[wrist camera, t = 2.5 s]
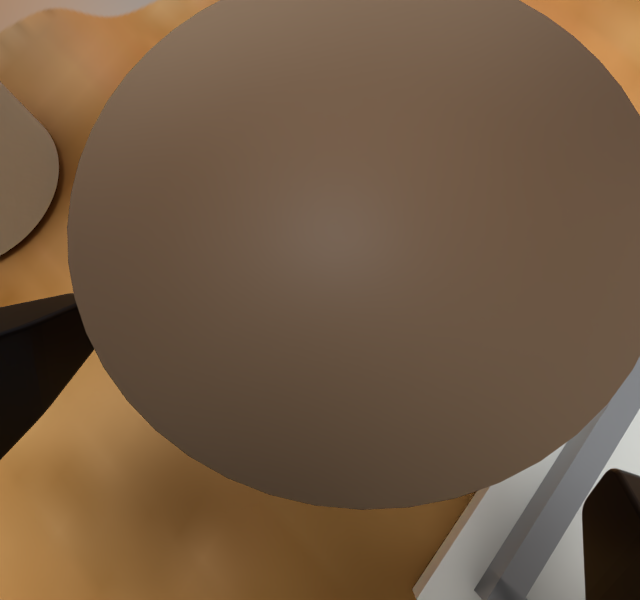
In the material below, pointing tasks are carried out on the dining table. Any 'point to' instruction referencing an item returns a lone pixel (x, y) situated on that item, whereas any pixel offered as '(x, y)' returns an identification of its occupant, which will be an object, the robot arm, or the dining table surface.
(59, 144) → the dining table surface
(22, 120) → the travel mug
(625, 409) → the pallet board
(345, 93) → the billet
